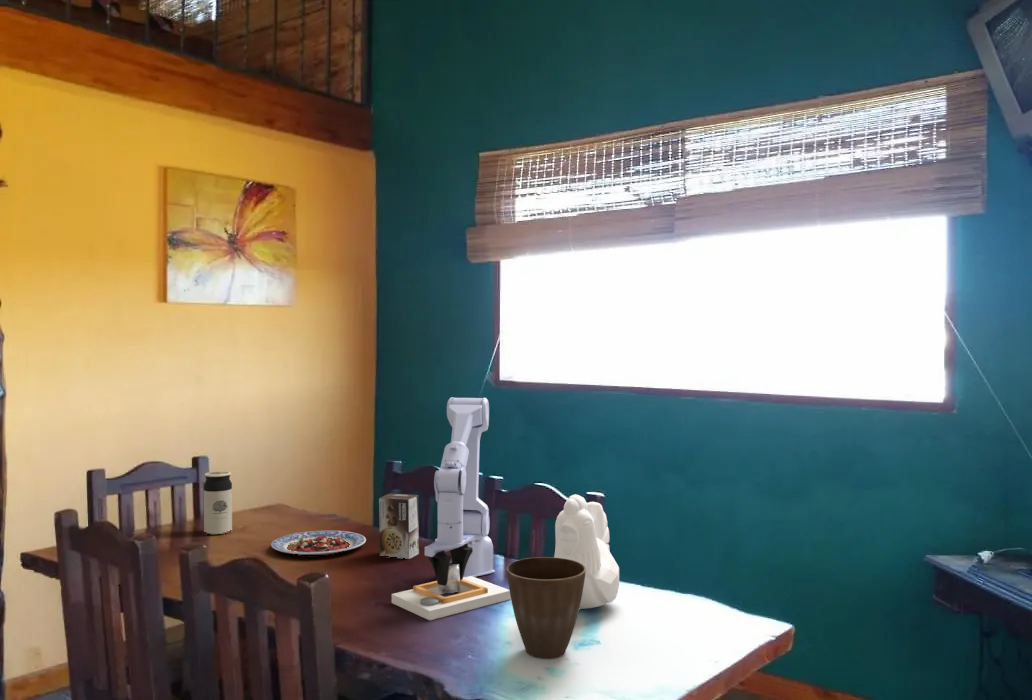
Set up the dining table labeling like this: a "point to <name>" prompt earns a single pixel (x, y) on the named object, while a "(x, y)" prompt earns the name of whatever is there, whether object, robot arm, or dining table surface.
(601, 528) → the decorative rooster
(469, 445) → the robot arm
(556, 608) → the plant pot
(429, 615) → the white flat frame
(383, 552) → the coffee box
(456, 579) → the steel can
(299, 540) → the ceramic plate
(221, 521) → the travel mug
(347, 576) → the dining table surface
